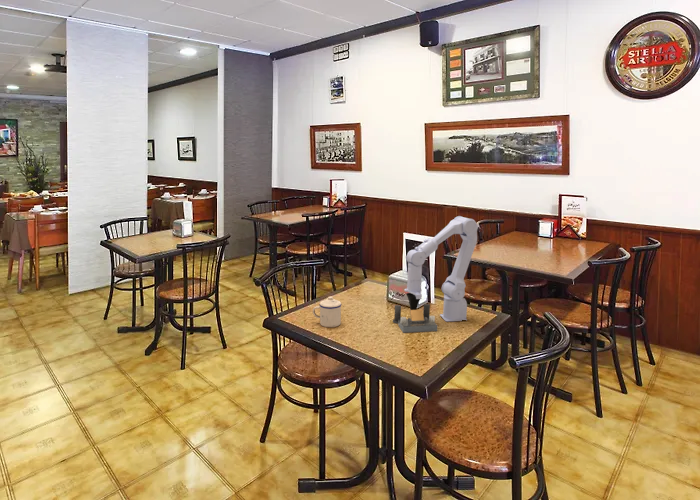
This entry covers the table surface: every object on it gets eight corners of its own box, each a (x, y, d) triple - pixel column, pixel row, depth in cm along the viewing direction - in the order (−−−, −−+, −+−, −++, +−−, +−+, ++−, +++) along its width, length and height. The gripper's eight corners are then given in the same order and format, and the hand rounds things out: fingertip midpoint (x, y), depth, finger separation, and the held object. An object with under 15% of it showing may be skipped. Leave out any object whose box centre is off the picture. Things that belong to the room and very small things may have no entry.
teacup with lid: (342, 320, 190) (342, 294, 187) (339, 328, 181) (339, 301, 179) (315, 318, 191) (314, 293, 189) (310, 326, 183) (310, 299, 180)
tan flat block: (424, 321, 182) (422, 310, 183) (424, 321, 181) (423, 309, 182) (410, 322, 181) (409, 310, 183) (411, 322, 180) (410, 310, 181)
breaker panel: (430, 323, 187) (431, 312, 186) (437, 331, 179) (437, 319, 178) (398, 325, 185) (398, 314, 184) (403, 332, 177) (403, 321, 176)
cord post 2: (429, 318, 193) (429, 303, 191) (432, 321, 189) (432, 306, 187) (420, 318, 192) (420, 303, 191) (423, 322, 188) (423, 306, 187)
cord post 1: (400, 319, 191) (401, 304, 189) (403, 323, 187) (403, 307, 185) (391, 320, 190) (392, 304, 189) (393, 323, 186) (394, 307, 185)
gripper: (400, 274, 190) (399, 305, 193) (409, 284, 176) (408, 316, 179) (416, 274, 191) (415, 304, 194) (427, 283, 177) (425, 315, 180)
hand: (413, 310), depth 187 cm, fingers closed
